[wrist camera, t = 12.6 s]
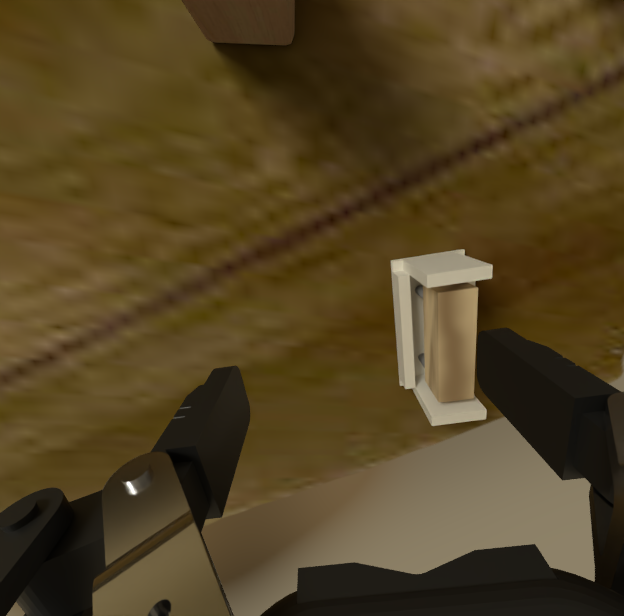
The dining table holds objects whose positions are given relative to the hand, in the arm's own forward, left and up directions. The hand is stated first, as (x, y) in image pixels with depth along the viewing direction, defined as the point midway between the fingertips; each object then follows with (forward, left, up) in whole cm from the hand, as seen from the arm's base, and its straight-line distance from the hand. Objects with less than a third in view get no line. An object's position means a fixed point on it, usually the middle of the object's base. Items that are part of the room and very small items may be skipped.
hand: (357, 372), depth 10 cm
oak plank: (-14, +14, -29) cm, 35 cm away
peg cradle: (-14, +14, -33) cm, 39 cm away
